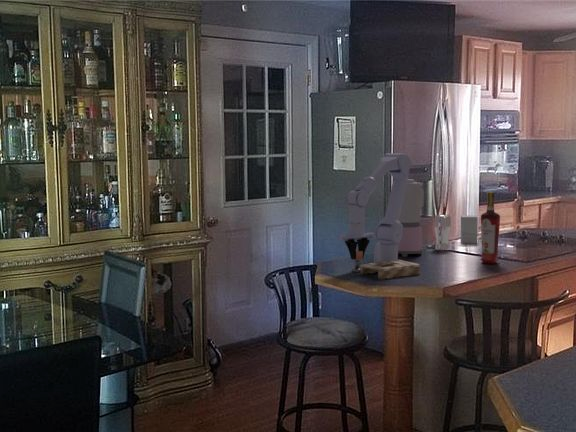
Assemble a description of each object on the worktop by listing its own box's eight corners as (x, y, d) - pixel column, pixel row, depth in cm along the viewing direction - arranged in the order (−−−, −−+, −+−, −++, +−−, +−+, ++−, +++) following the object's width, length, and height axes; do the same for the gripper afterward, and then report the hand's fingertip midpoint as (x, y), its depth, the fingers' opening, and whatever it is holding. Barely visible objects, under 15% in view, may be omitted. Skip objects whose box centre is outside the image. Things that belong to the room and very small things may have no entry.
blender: (407, 257, 293) (407, 180, 290) (387, 254, 303) (387, 179, 300) (433, 253, 302) (434, 179, 298) (413, 250, 312) (414, 177, 308)
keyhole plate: (380, 279, 251) (380, 269, 250) (360, 273, 261) (360, 264, 261) (419, 274, 259) (419, 264, 259) (399, 268, 270) (399, 259, 269)
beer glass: (452, 250, 310) (452, 216, 308) (436, 250, 310) (436, 216, 309) (448, 248, 317) (449, 214, 315) (433, 248, 317) (433, 215, 315)
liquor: (476, 263, 279) (477, 192, 276) (485, 260, 284) (486, 191, 281) (493, 265, 274) (495, 193, 271) (502, 262, 279) (503, 192, 276)
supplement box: (476, 241, 335) (476, 215, 334) (477, 243, 328) (477, 216, 326) (460, 241, 337) (460, 214, 335) (461, 243, 329) (461, 216, 328)
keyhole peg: (349, 271, 267) (349, 250, 266) (358, 269, 269) (358, 249, 268) (355, 272, 264) (355, 252, 263) (364, 271, 266) (364, 251, 265)
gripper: (346, 225, 257) (347, 262, 259) (379, 222, 264) (379, 258, 266) (336, 223, 263) (336, 259, 265) (368, 220, 270) (368, 255, 272)
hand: (357, 258), depth 266 cm, fingers closed on keyhole peg, 3 cm apart
